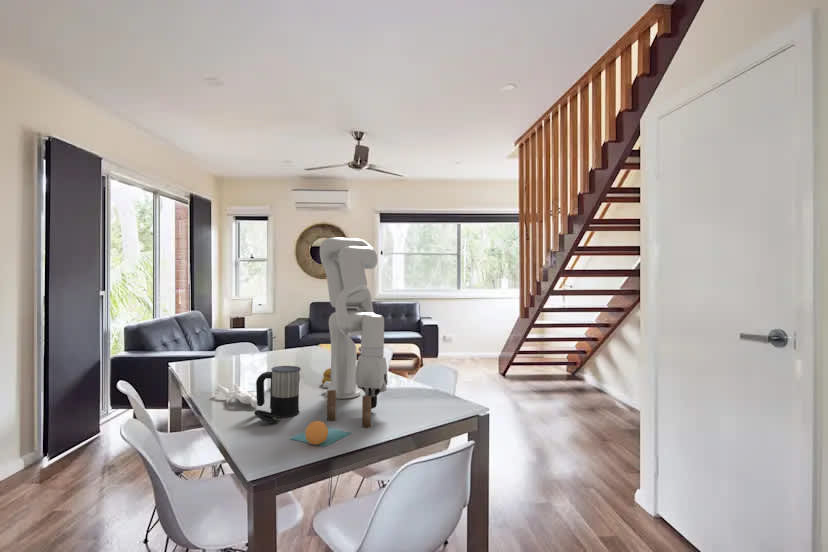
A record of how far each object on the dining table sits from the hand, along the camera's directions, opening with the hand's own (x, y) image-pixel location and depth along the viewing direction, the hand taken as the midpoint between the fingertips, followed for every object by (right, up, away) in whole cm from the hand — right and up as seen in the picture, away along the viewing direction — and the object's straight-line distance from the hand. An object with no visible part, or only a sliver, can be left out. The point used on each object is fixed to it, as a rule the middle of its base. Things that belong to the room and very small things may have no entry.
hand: (371, 407), depth 152 cm
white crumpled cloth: (-47, -2, +11) cm, 49 cm away
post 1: (-12, -1, -9) cm, 15 cm away
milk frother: (-29, -1, -7) cm, 30 cm away
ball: (-12, +2, -29) cm, 32 cm away
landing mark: (-12, -1, -23) cm, 26 cm away
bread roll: (-19, -2, +39) cm, 43 cm away
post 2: (0, -2, -15) cm, 15 cm away
